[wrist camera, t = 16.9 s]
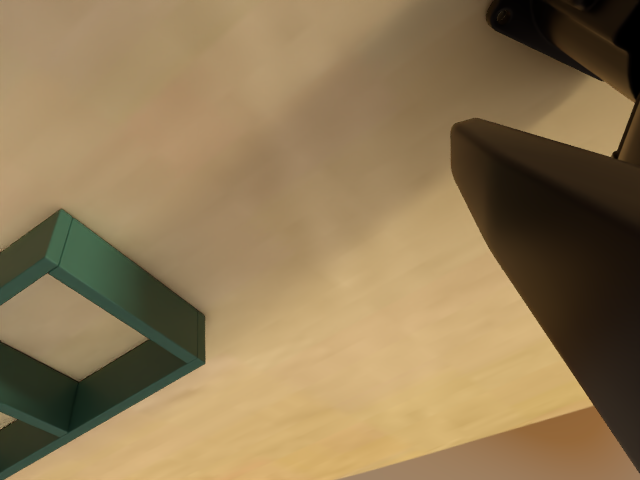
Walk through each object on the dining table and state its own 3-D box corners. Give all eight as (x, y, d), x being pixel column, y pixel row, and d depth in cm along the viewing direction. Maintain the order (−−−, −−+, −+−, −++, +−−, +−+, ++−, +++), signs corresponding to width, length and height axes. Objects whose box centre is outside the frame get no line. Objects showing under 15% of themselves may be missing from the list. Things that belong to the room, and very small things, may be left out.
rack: (61, 207, 22) (45, 256, 19) (205, 315, 27) (206, 363, 25) (-192, 391, 26) (-230, 449, 23) (-23, 453, 31) (-40, 504, 29)
